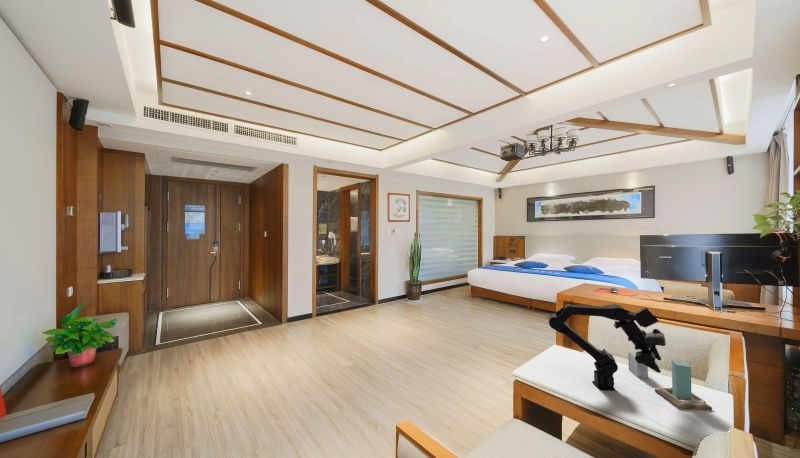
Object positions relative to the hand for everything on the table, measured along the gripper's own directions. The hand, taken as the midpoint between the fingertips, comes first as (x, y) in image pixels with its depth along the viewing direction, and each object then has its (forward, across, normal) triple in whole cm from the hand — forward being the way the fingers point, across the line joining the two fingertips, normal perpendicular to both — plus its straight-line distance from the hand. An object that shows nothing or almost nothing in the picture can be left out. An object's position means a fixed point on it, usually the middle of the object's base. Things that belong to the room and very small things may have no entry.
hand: (659, 366), depth 124 cm
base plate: (+14, -1, +1) cm, 14 cm away
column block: (+13, -1, +1) cm, 13 cm away
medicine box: (+9, +14, +16) cm, 23 cm away
